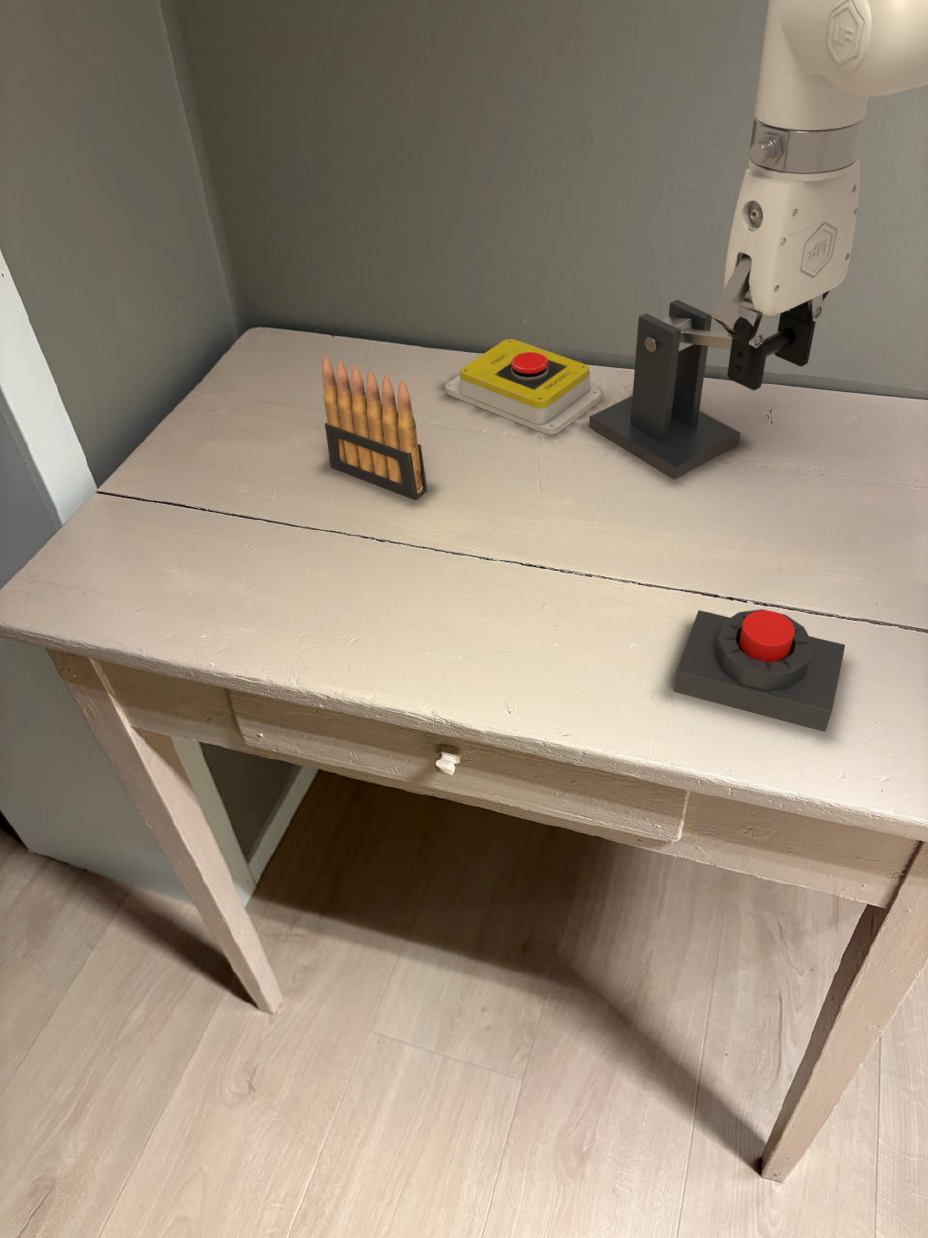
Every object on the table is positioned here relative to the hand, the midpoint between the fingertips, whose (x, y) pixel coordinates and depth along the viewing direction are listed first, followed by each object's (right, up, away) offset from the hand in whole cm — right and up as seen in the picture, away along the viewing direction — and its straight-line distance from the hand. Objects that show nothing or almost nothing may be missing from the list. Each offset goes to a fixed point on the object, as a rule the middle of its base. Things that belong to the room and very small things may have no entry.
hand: (767, 369), depth 81 cm
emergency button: (-20, +3, +22) cm, 29 cm away
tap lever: (-3, +3, +4) cm, 6 cm away
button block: (-4, -26, -9) cm, 27 cm away
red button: (-4, -23, -12) cm, 26 cm away
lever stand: (-6, -3, +15) cm, 16 cm away
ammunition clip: (-34, -8, +12) cm, 37 cm away
